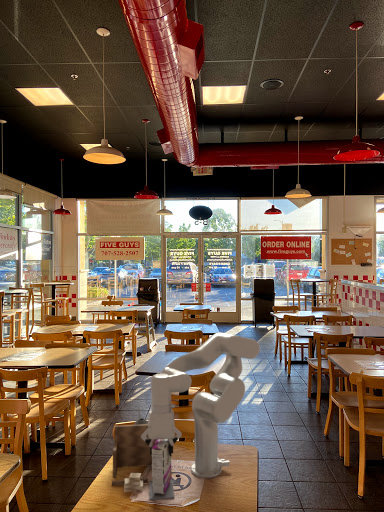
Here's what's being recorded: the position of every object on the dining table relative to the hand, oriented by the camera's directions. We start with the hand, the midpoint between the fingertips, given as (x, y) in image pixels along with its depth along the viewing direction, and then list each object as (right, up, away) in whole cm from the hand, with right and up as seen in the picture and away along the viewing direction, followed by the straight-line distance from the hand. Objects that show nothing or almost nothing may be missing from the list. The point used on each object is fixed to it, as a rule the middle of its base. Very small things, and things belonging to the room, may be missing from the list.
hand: (161, 455), depth 148 cm
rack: (-11, -13, +10) cm, 20 cm away
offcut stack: (-11, -13, +1) cm, 17 cm away
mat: (0, -13, 0) cm, 13 cm away
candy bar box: (0, -12, 0) cm, 12 cm away
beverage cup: (-11, -14, +28) cm, 34 cm away
